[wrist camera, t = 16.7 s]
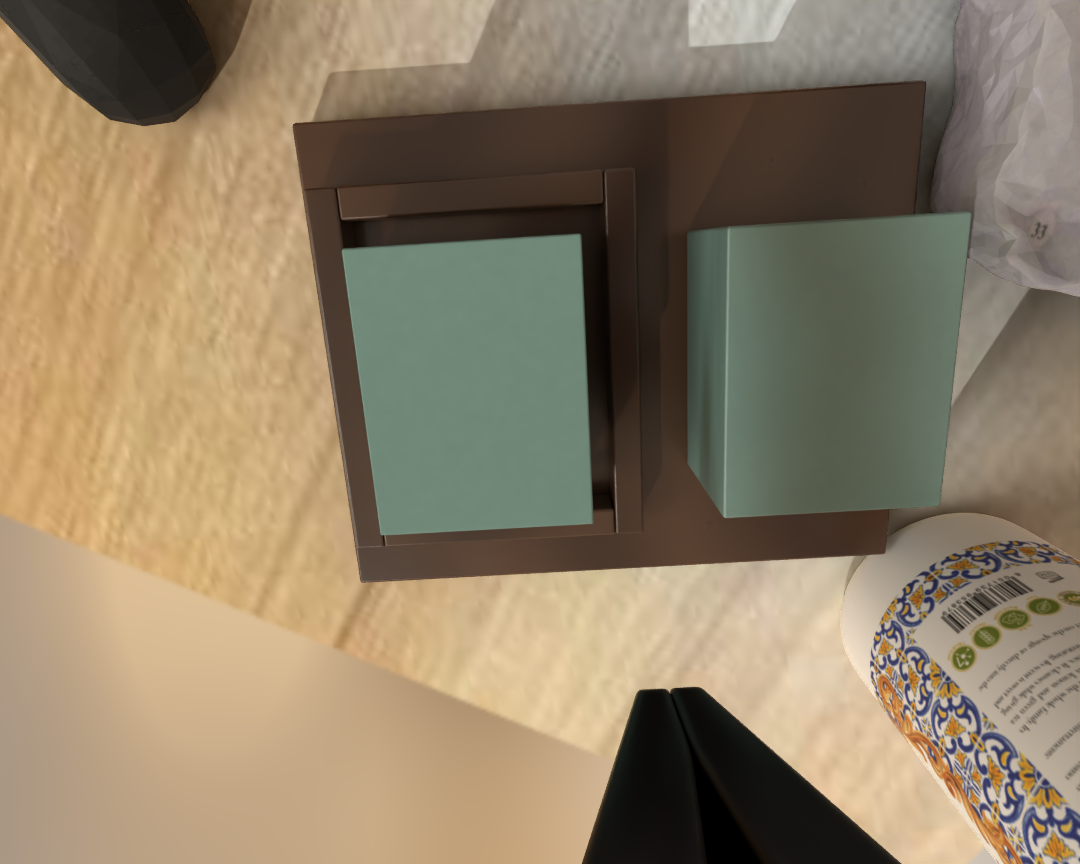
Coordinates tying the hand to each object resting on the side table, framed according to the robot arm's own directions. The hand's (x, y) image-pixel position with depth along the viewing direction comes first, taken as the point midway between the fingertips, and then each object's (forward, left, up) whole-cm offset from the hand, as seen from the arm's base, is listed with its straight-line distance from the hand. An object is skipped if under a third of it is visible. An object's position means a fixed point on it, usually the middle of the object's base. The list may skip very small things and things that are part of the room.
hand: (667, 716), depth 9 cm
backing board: (-1, -3, -12) cm, 12 cm away
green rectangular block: (+3, -3, -11) cm, 12 cm away
